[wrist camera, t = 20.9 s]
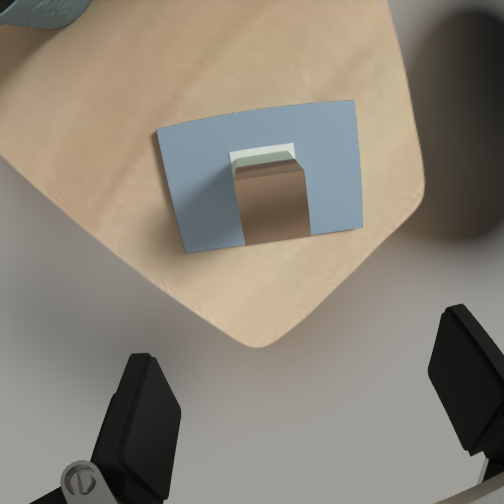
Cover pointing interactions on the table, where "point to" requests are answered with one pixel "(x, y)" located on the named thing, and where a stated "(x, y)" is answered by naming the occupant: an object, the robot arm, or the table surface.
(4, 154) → the table surface
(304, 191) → the walnut block
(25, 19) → the teal plant pot
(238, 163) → the sage block
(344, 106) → the board
